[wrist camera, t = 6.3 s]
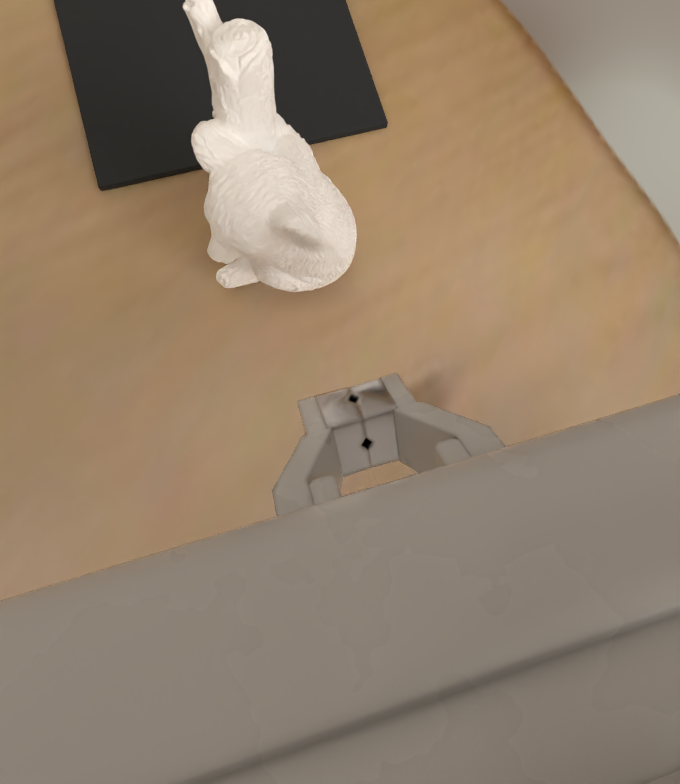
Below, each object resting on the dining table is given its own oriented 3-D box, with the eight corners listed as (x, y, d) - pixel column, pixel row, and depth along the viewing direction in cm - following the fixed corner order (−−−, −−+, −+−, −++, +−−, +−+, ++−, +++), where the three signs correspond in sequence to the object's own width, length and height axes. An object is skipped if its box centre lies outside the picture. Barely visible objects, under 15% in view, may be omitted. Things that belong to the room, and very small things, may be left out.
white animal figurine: (190, 207, 27) (100, -6, 15) (308, 170, 28) (309, -60, 16) (244, 351, 26) (191, 241, 14) (366, 308, 27) (412, 169, 15)
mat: (386, 127, 29) (388, 122, 28) (101, 191, 27) (98, 187, 26) (291, -150, 32) (291, -158, 31) (29, -109, 30) (25, -117, 30)
